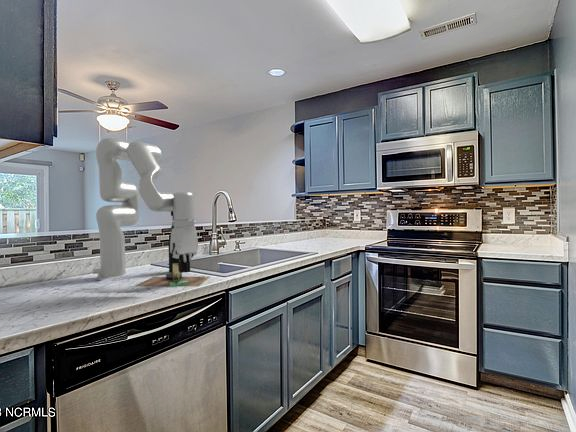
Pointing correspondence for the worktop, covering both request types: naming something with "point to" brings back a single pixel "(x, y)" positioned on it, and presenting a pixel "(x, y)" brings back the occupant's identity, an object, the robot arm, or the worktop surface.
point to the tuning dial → (174, 273)
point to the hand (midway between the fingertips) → (185, 271)
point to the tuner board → (182, 281)
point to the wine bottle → (171, 259)
